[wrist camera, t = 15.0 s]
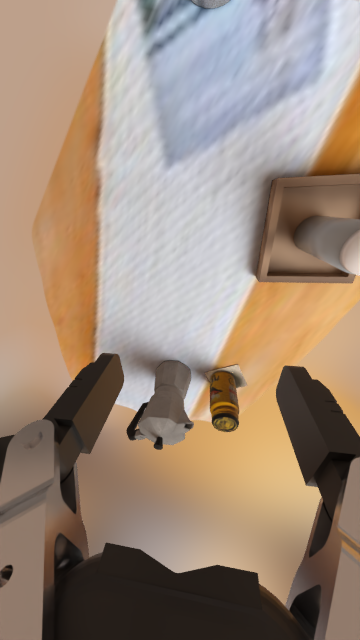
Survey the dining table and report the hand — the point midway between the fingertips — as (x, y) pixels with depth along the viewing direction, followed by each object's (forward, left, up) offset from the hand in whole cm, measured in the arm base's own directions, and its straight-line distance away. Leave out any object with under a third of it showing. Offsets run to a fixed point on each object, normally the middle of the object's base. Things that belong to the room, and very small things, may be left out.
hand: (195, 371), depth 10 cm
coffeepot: (+30, -8, -28) cm, 42 cm away
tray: (-3, +16, -28) cm, 32 cm away
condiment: (+30, +6, -28) cm, 42 cm away
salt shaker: (-3, +16, -27) cm, 32 cm away
